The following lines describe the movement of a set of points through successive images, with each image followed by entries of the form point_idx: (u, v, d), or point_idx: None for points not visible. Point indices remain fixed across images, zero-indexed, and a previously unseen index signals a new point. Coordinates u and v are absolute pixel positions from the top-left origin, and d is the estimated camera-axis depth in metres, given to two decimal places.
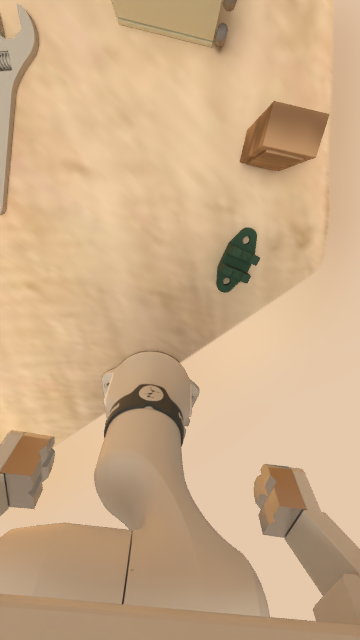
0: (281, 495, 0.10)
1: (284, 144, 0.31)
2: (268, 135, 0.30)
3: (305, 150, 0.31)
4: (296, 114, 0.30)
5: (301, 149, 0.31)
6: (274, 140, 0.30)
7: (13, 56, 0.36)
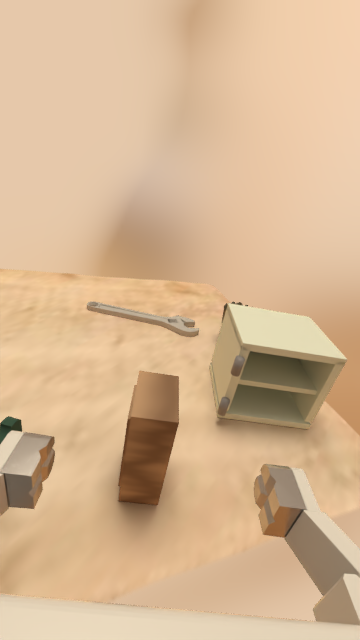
0: (281, 495, 0.10)
1: (142, 386, 0.27)
2: (149, 374, 0.29)
3: (137, 405, 0.25)
4: (171, 393, 0.27)
5: (138, 401, 0.25)
6: (145, 378, 0.28)
7: (175, 323, 0.62)
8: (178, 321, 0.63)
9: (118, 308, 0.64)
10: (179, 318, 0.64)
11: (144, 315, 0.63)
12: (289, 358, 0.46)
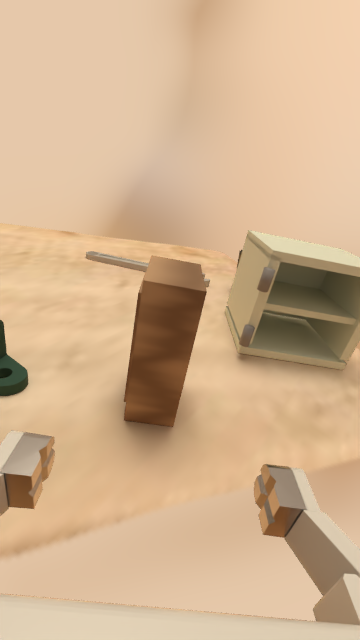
0: (281, 495, 0.10)
1: (156, 264, 0.21)
2: (163, 258, 0.23)
3: (151, 274, 0.19)
4: (193, 272, 0.21)
5: (152, 272, 0.19)
6: (159, 260, 0.22)
7: None
8: None
9: (121, 259, 0.58)
10: None
11: None
12: (318, 294, 0.41)
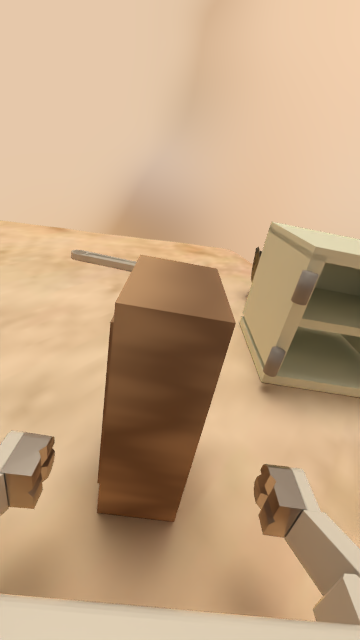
0: (281, 495, 0.10)
1: (145, 270, 0.13)
2: (159, 260, 0.14)
3: (134, 289, 0.10)
4: (208, 284, 0.12)
5: (136, 285, 0.11)
6: (151, 263, 0.14)
7: None
8: None
9: (112, 258, 0.49)
10: None
11: None
12: None
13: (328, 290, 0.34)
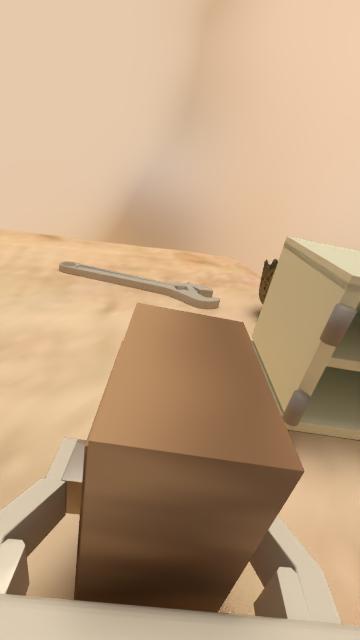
0: None
1: (143, 337, 0.08)
2: (163, 311, 0.10)
3: (125, 392, 0.06)
4: (238, 360, 0.08)
5: (129, 378, 0.07)
6: (152, 319, 0.09)
7: (186, 291, 0.43)
8: (189, 289, 0.44)
9: (104, 271, 0.45)
10: (190, 285, 0.45)
11: (141, 279, 0.44)
12: None
13: None
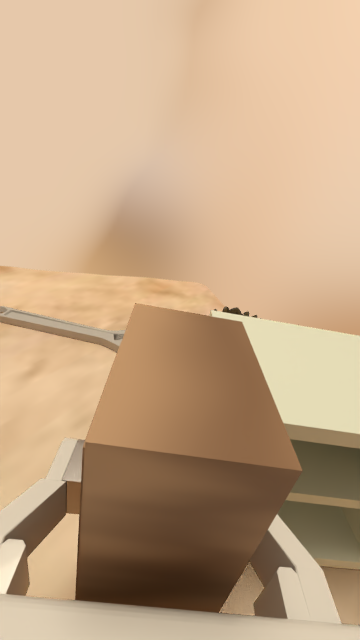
0: None
1: (141, 337, 0.08)
2: (161, 311, 0.10)
3: (122, 393, 0.06)
4: (237, 359, 0.08)
5: (126, 379, 0.07)
6: (150, 319, 0.09)
7: None
8: None
9: (38, 317, 0.41)
10: None
11: (78, 327, 0.40)
12: None
13: None
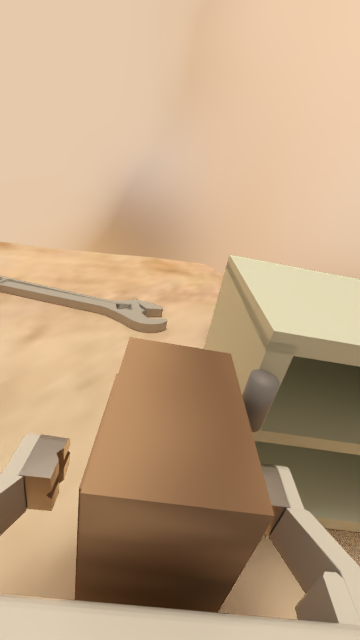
0: None
1: (134, 376, 0.09)
2: (154, 346, 0.11)
3: (115, 439, 0.07)
4: (223, 397, 0.09)
5: (119, 424, 0.07)
6: (144, 355, 0.10)
7: (127, 311, 0.36)
8: (134, 307, 0.38)
9: (36, 286, 0.39)
10: (137, 303, 0.39)
11: (78, 296, 0.38)
12: (357, 371, 0.22)
13: None
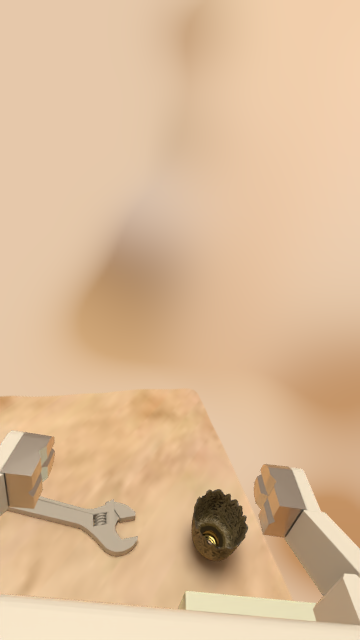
0: (281, 495, 0.10)
1: None
2: None
3: None
4: None
5: None
6: None
7: (102, 528, 0.41)
8: (109, 519, 0.42)
9: None
10: (112, 509, 0.44)
11: (59, 507, 0.43)
12: None
13: None
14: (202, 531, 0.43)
